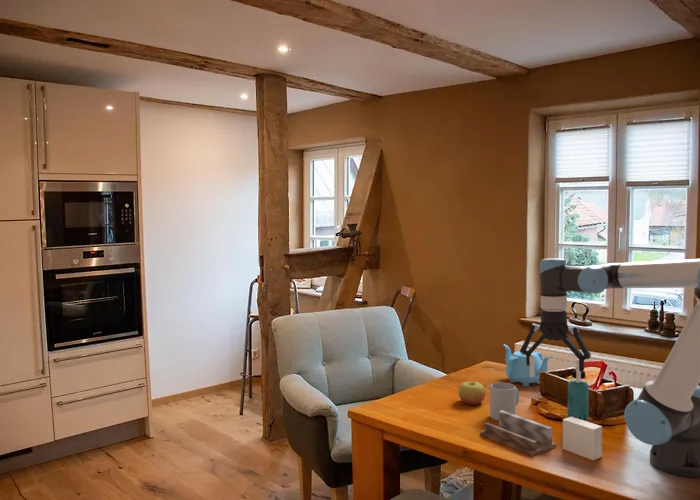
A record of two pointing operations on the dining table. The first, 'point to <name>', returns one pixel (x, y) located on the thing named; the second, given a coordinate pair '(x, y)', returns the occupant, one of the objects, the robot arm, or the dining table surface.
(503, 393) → the mug
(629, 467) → the dining table surface
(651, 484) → the dining table surface
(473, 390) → the apple
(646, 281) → the robot arm
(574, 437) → the white rectangular block
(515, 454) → the dining table surface
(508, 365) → the teapot
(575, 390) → the beverage bottle
